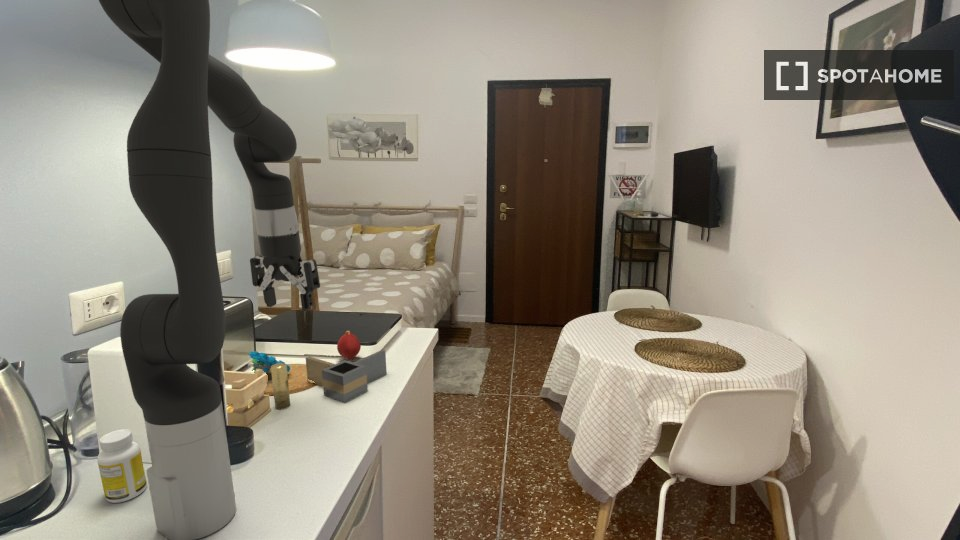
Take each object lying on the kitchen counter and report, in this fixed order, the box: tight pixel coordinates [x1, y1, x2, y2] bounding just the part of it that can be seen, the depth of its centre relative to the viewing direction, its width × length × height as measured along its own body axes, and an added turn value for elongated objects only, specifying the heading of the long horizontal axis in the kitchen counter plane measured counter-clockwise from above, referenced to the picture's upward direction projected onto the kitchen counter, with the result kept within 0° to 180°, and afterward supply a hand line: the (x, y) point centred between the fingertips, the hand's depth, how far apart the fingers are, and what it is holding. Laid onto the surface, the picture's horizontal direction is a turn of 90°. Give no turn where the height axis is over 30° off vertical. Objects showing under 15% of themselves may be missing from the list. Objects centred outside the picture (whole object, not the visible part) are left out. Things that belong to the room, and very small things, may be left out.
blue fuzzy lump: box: [248, 350, 291, 374], centre depth 120 cm, size 11×6×10 cm
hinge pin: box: [270, 363, 292, 410], centre depth 105 cm, size 3×3×9 cm
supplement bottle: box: [97, 428, 148, 504], centre depth 78 cm, size 5×5×10 cm
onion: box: [336, 330, 362, 361], centre depth 129 cm, size 6×6×8 cm
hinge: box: [305, 349, 387, 404], centre depth 117 cm, size 16×16×6 cm
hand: (289, 307), depth 103 cm, fingers open, 8 cm apart
